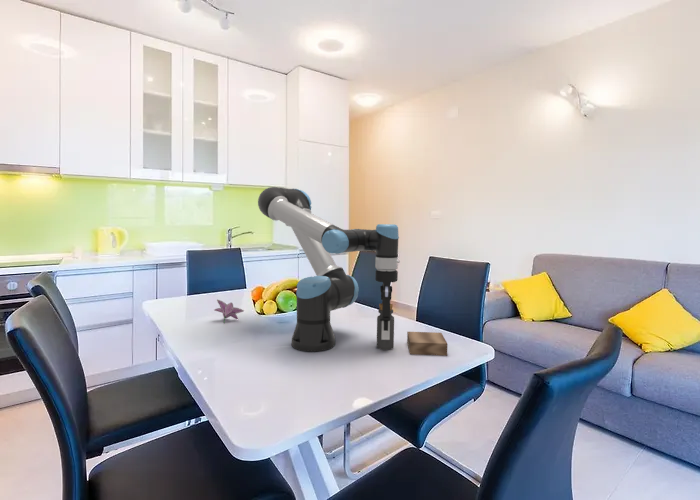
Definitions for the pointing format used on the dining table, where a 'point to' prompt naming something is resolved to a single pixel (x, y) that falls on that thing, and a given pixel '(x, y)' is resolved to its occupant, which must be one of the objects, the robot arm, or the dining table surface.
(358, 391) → the dining table surface
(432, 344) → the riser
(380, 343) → the bottle
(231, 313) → the lily
